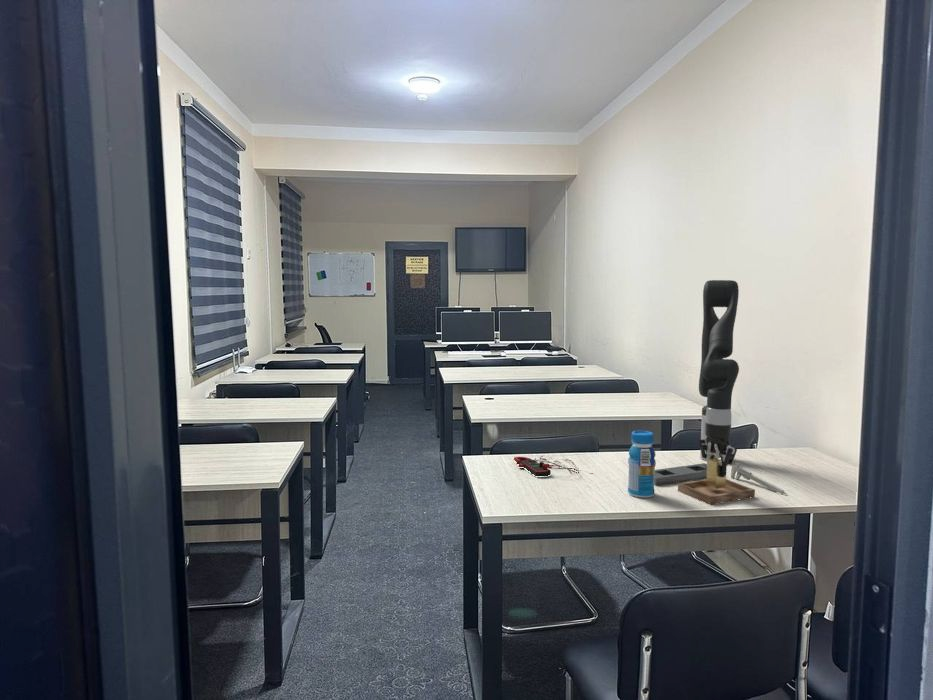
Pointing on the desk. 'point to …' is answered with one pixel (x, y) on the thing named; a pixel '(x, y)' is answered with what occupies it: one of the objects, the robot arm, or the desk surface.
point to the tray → (715, 491)
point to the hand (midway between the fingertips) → (716, 474)
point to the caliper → (752, 477)
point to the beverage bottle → (641, 465)
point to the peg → (714, 474)
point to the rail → (680, 474)
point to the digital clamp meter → (538, 466)
